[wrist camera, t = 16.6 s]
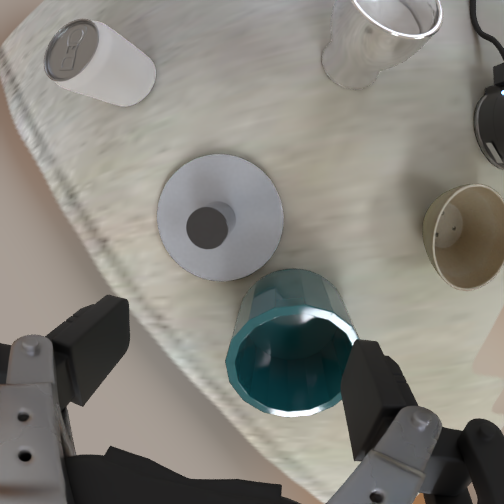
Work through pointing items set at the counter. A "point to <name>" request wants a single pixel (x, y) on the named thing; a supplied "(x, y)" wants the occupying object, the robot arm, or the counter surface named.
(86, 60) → the can
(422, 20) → the beer glass
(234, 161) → the lid
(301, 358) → the canister
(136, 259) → the counter surface
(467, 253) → the flower pot
